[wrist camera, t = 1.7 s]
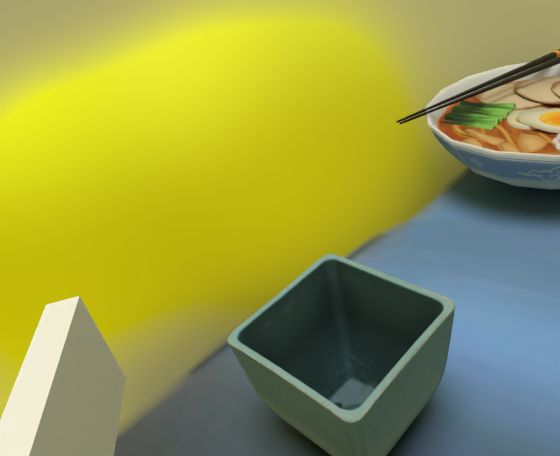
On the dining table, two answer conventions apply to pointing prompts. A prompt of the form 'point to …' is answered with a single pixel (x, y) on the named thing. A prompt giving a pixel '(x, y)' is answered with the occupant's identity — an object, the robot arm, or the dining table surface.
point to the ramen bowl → (503, 122)
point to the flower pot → (347, 355)
